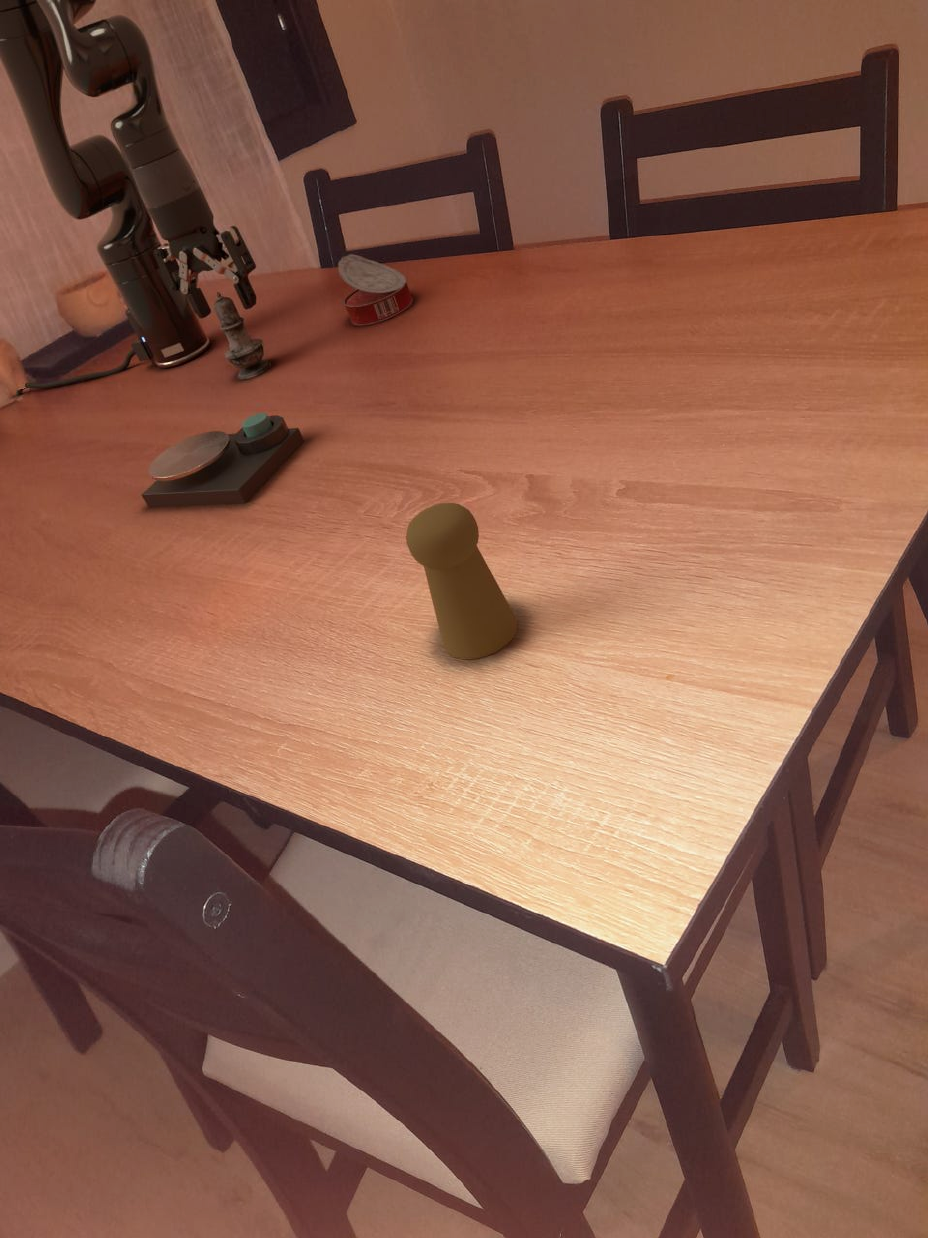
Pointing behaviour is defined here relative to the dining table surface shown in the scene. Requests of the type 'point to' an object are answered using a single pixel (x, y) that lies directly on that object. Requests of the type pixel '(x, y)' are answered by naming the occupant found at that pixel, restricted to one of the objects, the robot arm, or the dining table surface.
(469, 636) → the pawn piece
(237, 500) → the scale
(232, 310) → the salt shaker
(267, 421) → the tare button
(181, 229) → the robot arm
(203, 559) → the dining table surface
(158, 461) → the scale pan
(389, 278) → the canned food
